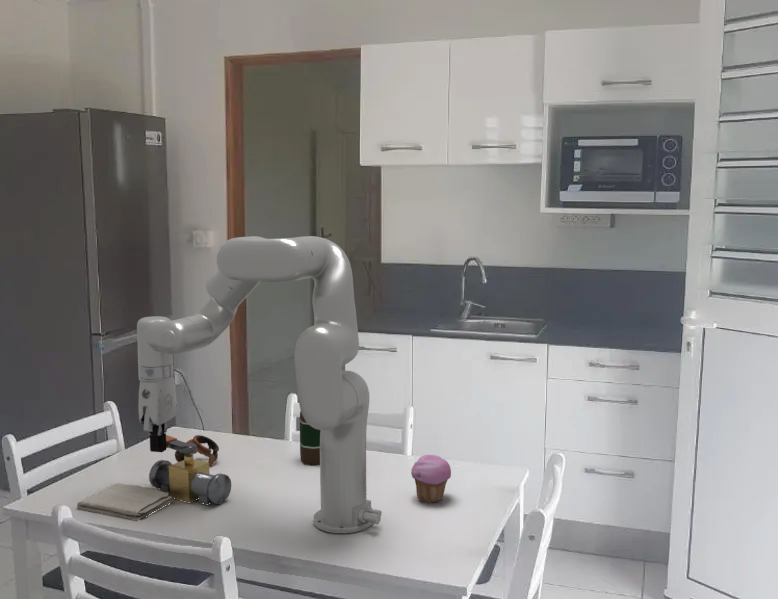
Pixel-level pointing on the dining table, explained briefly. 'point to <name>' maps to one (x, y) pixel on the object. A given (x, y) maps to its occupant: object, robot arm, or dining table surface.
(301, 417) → the beer bottle
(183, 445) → the lever
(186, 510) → the dining table surface
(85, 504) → the washcloth
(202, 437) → the brown curved band
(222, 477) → the valve body
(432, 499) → the cupcake
